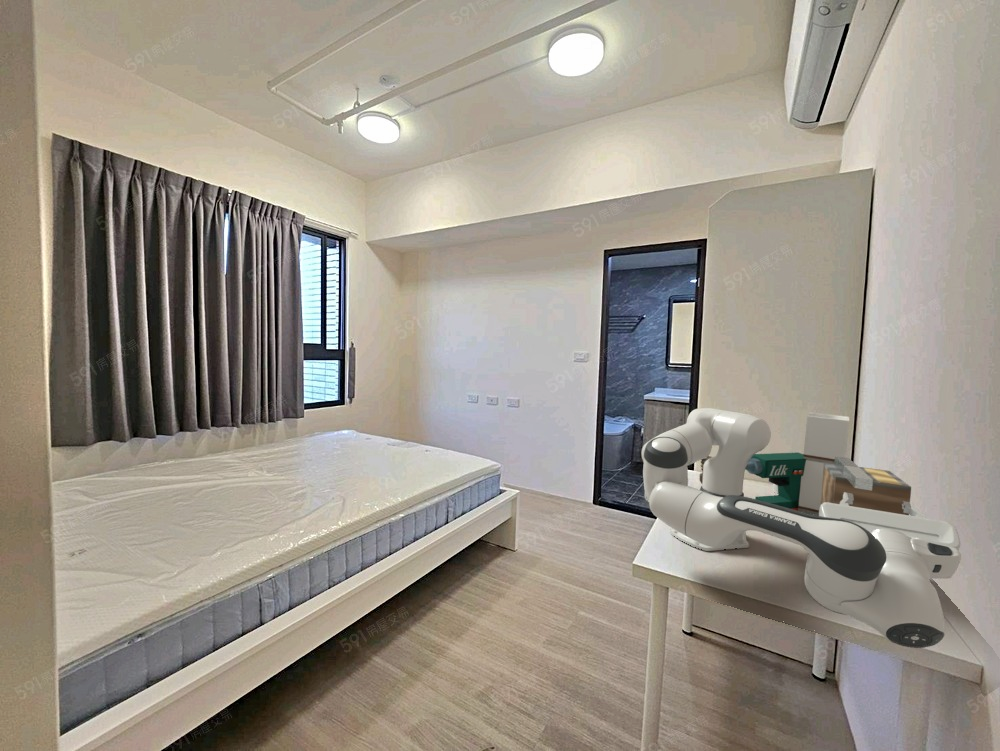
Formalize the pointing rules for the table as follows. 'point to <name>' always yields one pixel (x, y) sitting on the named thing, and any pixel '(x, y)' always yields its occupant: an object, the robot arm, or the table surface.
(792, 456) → the power tool
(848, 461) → the brushed metal bar
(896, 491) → the stand
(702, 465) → the brown carved figurine
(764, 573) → the table surface
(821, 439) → the white cradle pedestal
